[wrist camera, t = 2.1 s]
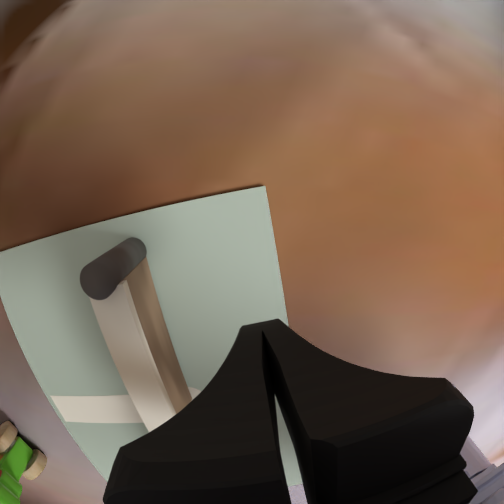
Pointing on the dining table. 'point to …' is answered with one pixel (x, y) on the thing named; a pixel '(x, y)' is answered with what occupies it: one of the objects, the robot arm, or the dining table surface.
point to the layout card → (170, 299)
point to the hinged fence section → (136, 331)
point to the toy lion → (16, 463)
